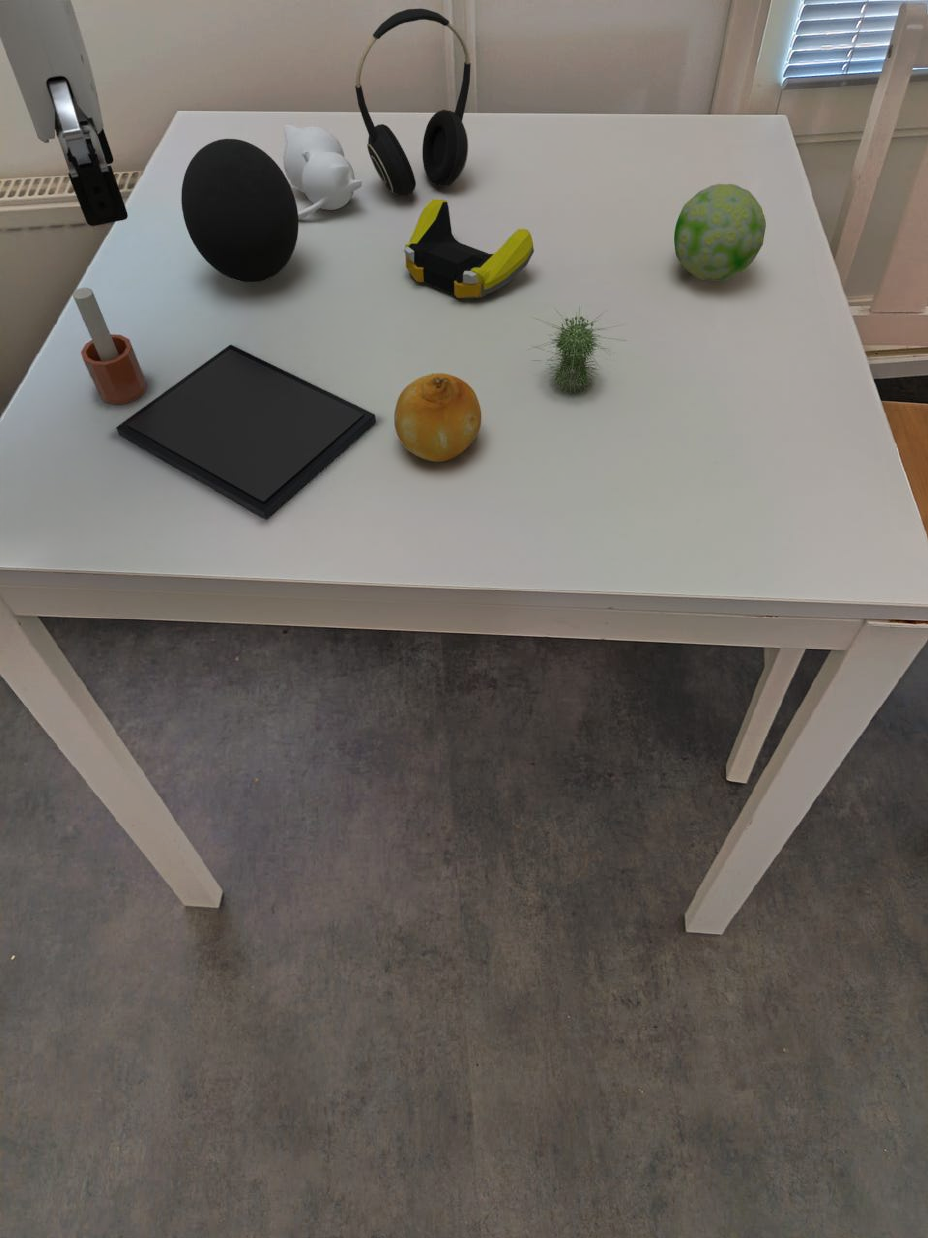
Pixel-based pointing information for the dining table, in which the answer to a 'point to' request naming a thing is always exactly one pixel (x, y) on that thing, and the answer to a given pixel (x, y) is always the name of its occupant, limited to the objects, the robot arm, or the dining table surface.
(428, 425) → the fruit
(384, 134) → the headphones
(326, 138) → the cat figurine
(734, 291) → the dining table surface
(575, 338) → the small spiny cactus
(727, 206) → the decorative ball
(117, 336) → the pen cup
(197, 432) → the tablet
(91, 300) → the stylus
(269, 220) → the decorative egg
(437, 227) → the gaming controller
